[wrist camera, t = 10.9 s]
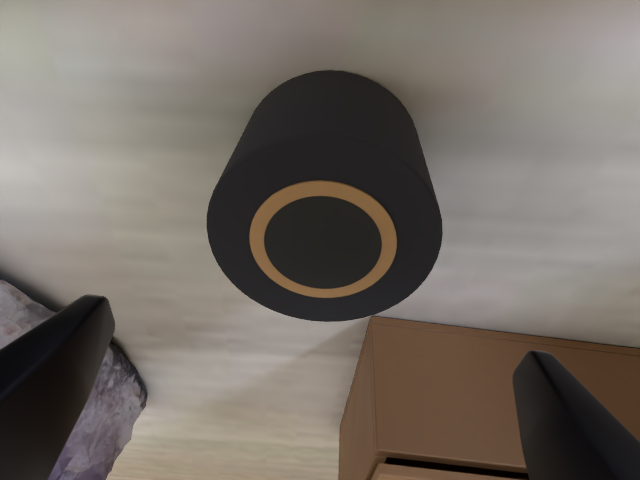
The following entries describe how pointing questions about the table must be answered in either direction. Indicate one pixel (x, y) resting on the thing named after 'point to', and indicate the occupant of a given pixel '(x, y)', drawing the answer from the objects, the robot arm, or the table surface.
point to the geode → (103, 403)
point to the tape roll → (326, 201)
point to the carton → (461, 396)
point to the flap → (424, 474)
